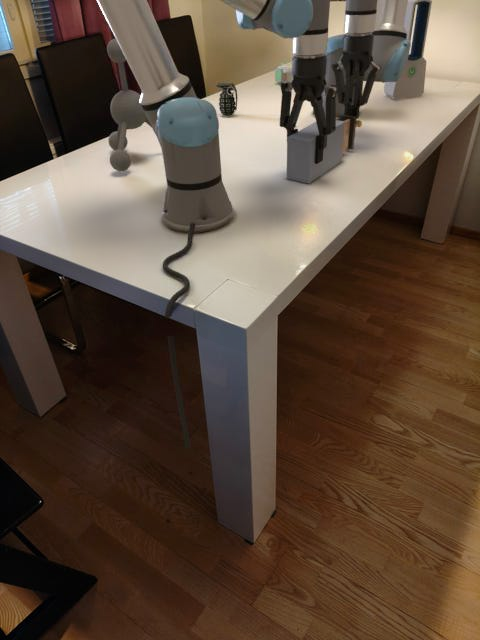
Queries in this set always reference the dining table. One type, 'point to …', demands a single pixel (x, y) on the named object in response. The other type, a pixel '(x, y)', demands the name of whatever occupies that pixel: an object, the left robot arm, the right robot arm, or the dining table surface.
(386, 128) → the dining table surface
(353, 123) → the drawer
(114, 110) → the molecular model
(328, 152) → the cabinet
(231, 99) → the grenade
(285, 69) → the decorative block
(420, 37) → the electronic device
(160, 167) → the dining table surface
